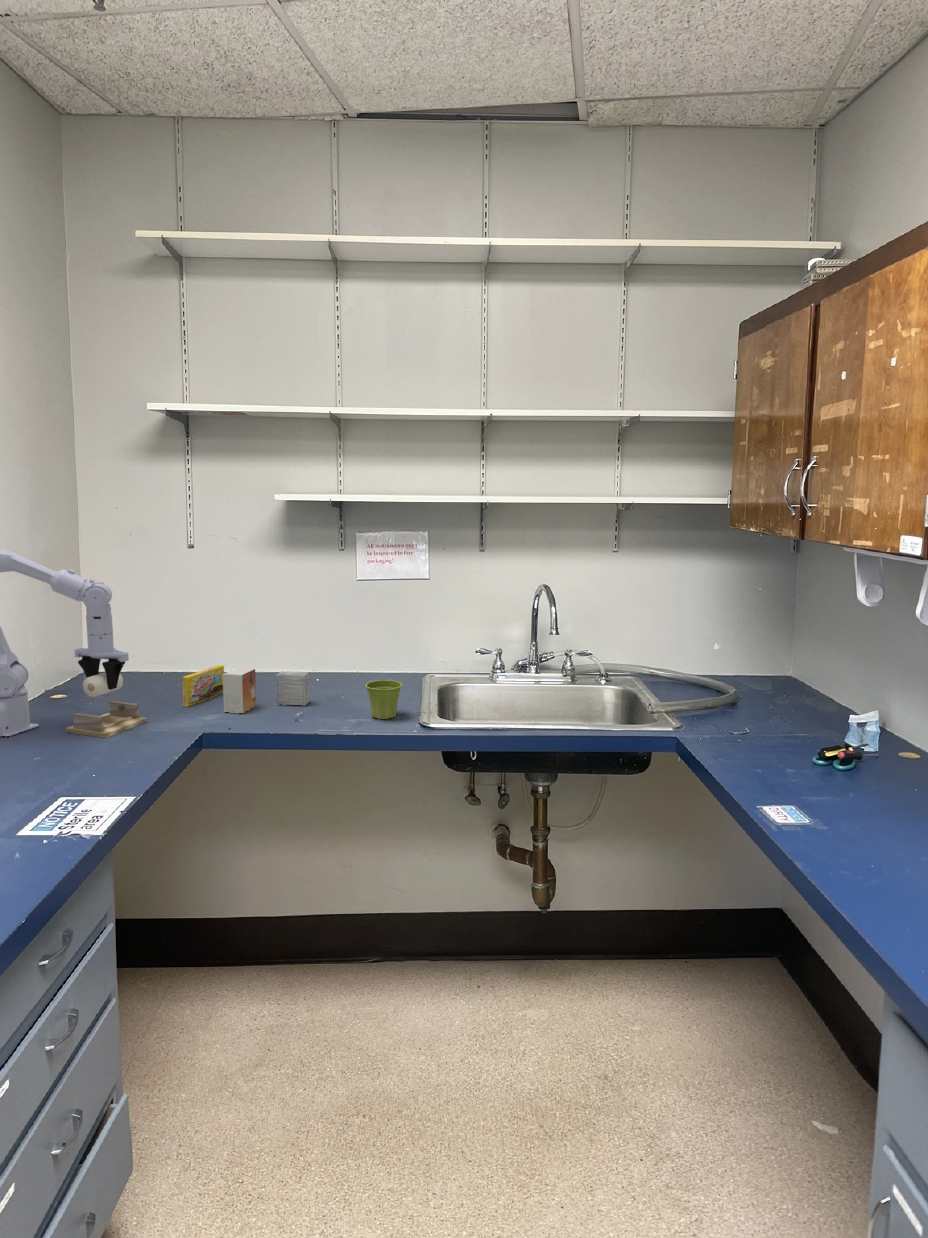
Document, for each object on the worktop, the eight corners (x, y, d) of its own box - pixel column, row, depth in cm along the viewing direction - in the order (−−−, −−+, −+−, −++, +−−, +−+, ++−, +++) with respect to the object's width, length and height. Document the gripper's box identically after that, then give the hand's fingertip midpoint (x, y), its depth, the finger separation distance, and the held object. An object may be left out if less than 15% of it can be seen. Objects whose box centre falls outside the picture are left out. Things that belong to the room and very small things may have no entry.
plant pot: (396, 723, 206) (396, 690, 204) (360, 720, 208) (360, 687, 206) (406, 713, 215) (406, 681, 214) (372, 710, 217) (372, 679, 215)
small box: (243, 714, 212) (242, 675, 210) (223, 713, 213) (221, 673, 211) (256, 706, 219) (255, 668, 218) (237, 705, 220) (236, 667, 219)
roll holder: (106, 737, 191) (105, 719, 190) (65, 732, 195) (64, 714, 194) (147, 721, 204) (146, 704, 203) (108, 716, 208) (107, 699, 207)
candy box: (189, 707, 218) (187, 677, 216) (182, 706, 218) (181, 676, 217) (225, 693, 233) (224, 664, 231) (218, 692, 233) (217, 664, 232)
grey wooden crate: (309, 702, 224) (309, 671, 223) (304, 706, 220) (304, 675, 218) (281, 701, 225) (281, 670, 223) (276, 705, 220) (275, 674, 219)
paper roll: (99, 698, 196) (98, 678, 195) (83, 696, 197) (82, 676, 196) (123, 690, 203) (122, 670, 202) (107, 688, 205) (106, 669, 204)
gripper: (136, 632, 199) (139, 686, 201) (88, 628, 204) (91, 681, 206) (115, 637, 193) (118, 693, 195) (66, 633, 197) (70, 687, 199)
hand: (103, 687), depth 200 cm, fingers closed on paper roll, 5 cm apart
